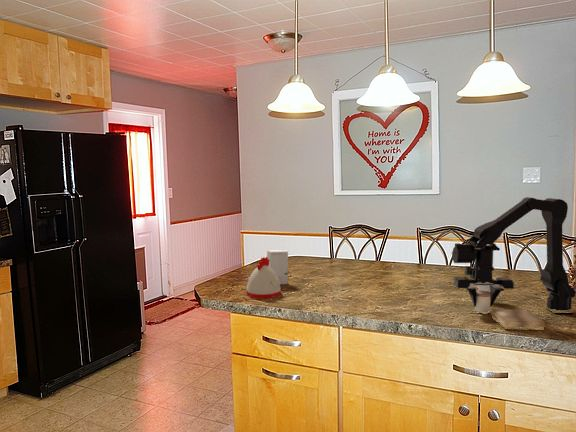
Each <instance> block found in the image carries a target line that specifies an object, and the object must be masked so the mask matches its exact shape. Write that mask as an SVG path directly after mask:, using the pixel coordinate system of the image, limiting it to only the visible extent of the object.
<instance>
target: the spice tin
mask: <svg viewBox="0 0 576 432" xmlns="http://www.w3.org/2000/svg"><path fill="white" fill-rule="evenodd" d="M490 299H491V293H490V291H479V290H476V307H474V311H475V310H476V311H480V312H488V311H490V312H491V307H490Z"/></svg>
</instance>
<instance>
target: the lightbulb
mask: <svg viewBox="0 0 576 432" xmlns="http://www.w3.org/2000/svg"><path fill="white" fill-rule="evenodd" d="M492 279H493V280H494V278H493V277H492ZM478 283H481V282H478ZM485 283H489V282H485ZM476 287H477V288H478V291H488V292H490V285H476Z"/></svg>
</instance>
